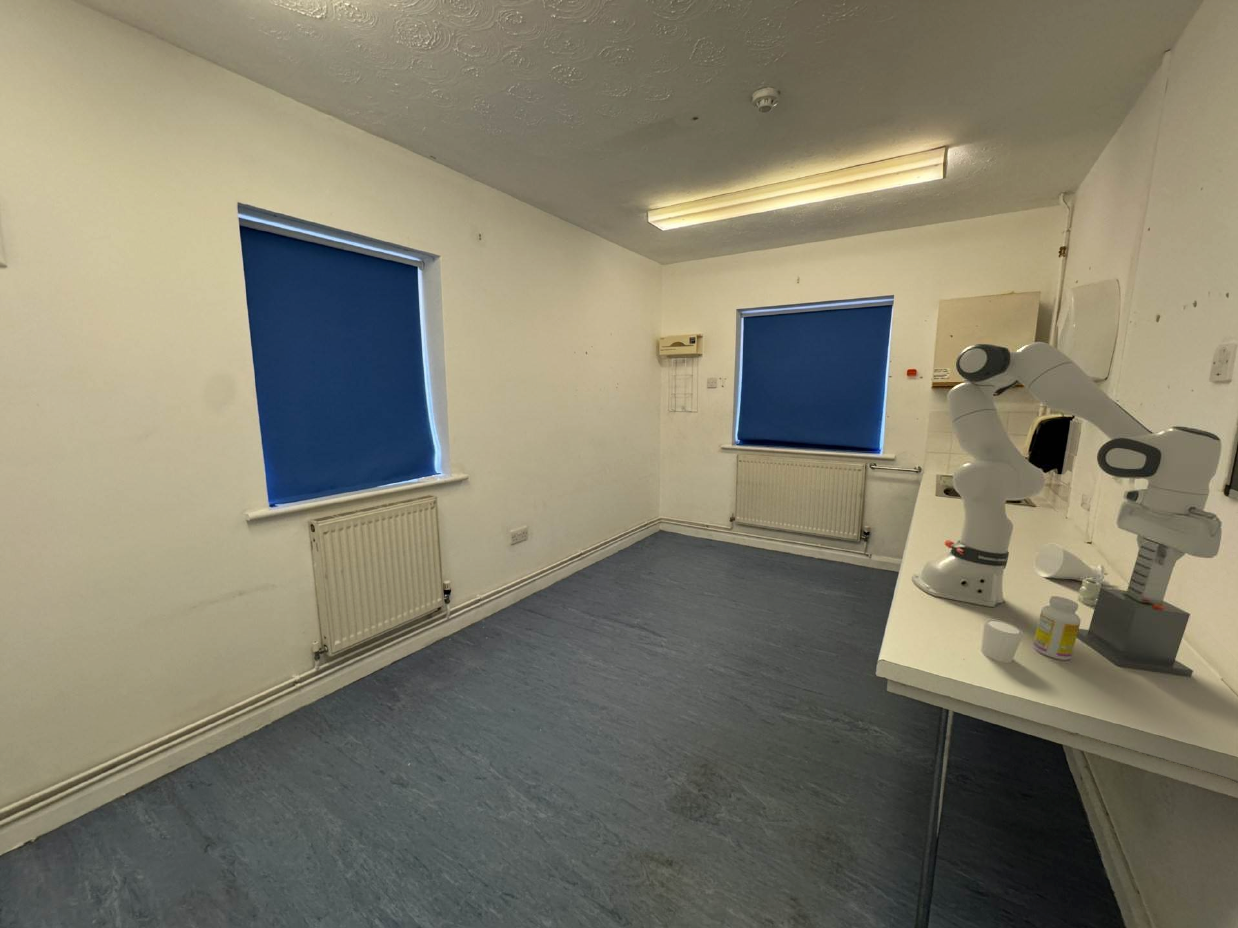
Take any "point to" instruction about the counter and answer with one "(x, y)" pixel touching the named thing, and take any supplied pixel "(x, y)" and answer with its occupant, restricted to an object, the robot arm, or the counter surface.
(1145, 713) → the counter surface
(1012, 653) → the white cup
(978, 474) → the robot arm
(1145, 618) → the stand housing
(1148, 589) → the column
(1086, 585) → the valve
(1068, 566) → the rocket engine
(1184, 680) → the counter surface
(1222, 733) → the counter surface
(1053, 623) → the supplement bottle
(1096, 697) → the counter surface
